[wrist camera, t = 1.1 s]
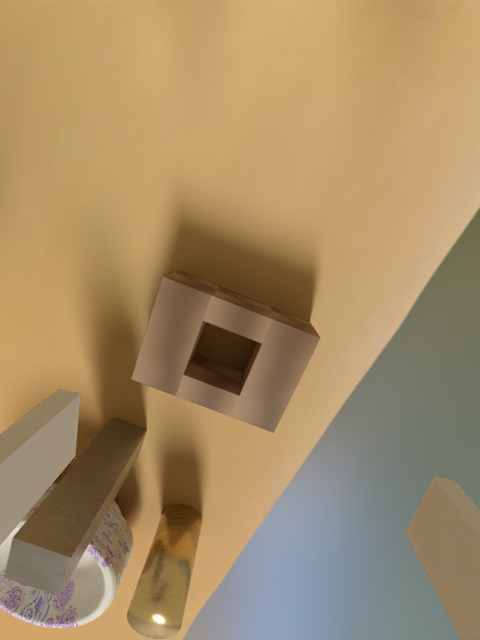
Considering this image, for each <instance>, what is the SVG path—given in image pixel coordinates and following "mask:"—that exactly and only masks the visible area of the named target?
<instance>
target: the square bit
mask: <svg viewBox="0 0 480 640" xmlns="http://www.w3.org/2000/svg"><path fill="white" fill-rule="evenodd" d="M146 432H147V430H145V429H142V428H140V427H137V426H134V425H131V424H129V423H126V422H123V421H121V420H118V419H115V418H112V419H111V420H110V422H109V423H108V424H107V425H106V426H105V428H104V429H103V430H102V431H101V432H100V434H99V435H98V436H97V437H96V438H95V439H94V441H93V442H92V443H91V444H90V445H89V447H88V448H87V449H86V450H85V451H84V453H83V454H82V455H81V456H80V457H79V459H78V460H77V461H76V462H75V463H74V465H73V466H72V467H71V468H70V469H69V471H68V472H67V473H66V474H65V475H64V477H63V478H62V479H61V480H60V481H59V483H58V484H57V485H56V486H55V487H54V489H53V490H52V491H51V492H50V493H49V495H48V496H47V497H46V498H45V499H44V501H43V502H42V503H41V504H40V505H39V507H38V508H37V509H36V510H35V511H34V513H33V514H32V515H31V516H30V517H29V519H28V520H27V521H26V522H25V523H24V525H23V526H22V527H21V528H20V529H19V531H18V532H17V533H16V534H15V535H14V537H13V538H12V543H11V548H10V552H9V557H8V562H7V566H6V571H5V576H4V578H6V579H9V580H12V581H15V582H18V583H21V584H24V585H27V586H30V587H33V588H36V589H38V590H41V591H44V592H47V593H50V594H53V595H56V596H60V595H61V593H62V591H63V589H64V587H65V586H66V584H67V582H68V580H69V579H70V577H71V575H72V573H73V572H74V570H75V568H76V566H77V564H78V563H79V561H80V559H81V557H82V556H83V554H84V552H85V550H86V548H87V547H88V545H89V543H90V541H91V540H92V538H93V536H94V534H95V532H96V531H97V529H98V527H99V525H100V524H101V522H102V520H103V518H104V516H105V515H106V513H107V511H108V509H109V508H110V506H111V504H112V502H113V500H114V499H115V497H116V495H117V493H118V492H119V490H120V488H121V486H122V484H123V483H124V481H125V479H126V477H127V476H128V474H129V472H130V470H131V468H132V467H133V465H134V463H135V461H136V460H137V458H138V455H139V452H140V449H141V446H142V443H143V440H144V437H145V435H146Z"/></svg>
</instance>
